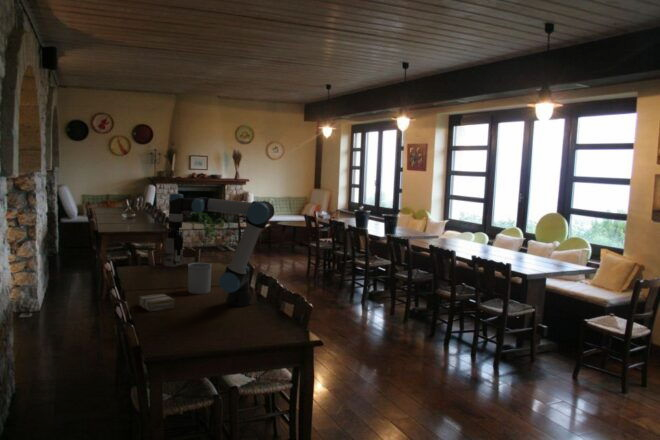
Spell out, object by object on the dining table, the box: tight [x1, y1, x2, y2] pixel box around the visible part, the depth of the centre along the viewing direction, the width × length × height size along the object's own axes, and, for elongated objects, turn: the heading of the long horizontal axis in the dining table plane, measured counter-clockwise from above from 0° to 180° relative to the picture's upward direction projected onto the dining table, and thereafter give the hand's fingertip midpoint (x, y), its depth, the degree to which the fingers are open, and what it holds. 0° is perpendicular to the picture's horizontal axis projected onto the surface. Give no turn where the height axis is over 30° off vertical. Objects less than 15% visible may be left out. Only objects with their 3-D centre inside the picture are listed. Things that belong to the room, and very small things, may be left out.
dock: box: [138, 293, 176, 312], centre depth 306 cm, size 16×14×5 cm
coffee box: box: [164, 236, 184, 267], centre depth 309 cm, size 9×6×16 cm
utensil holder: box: [187, 262, 213, 295], centre depth 346 cm, size 15×15×18 cm
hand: (173, 259), depth 310 cm, fingers closed on coffee box, 10 cm apart
